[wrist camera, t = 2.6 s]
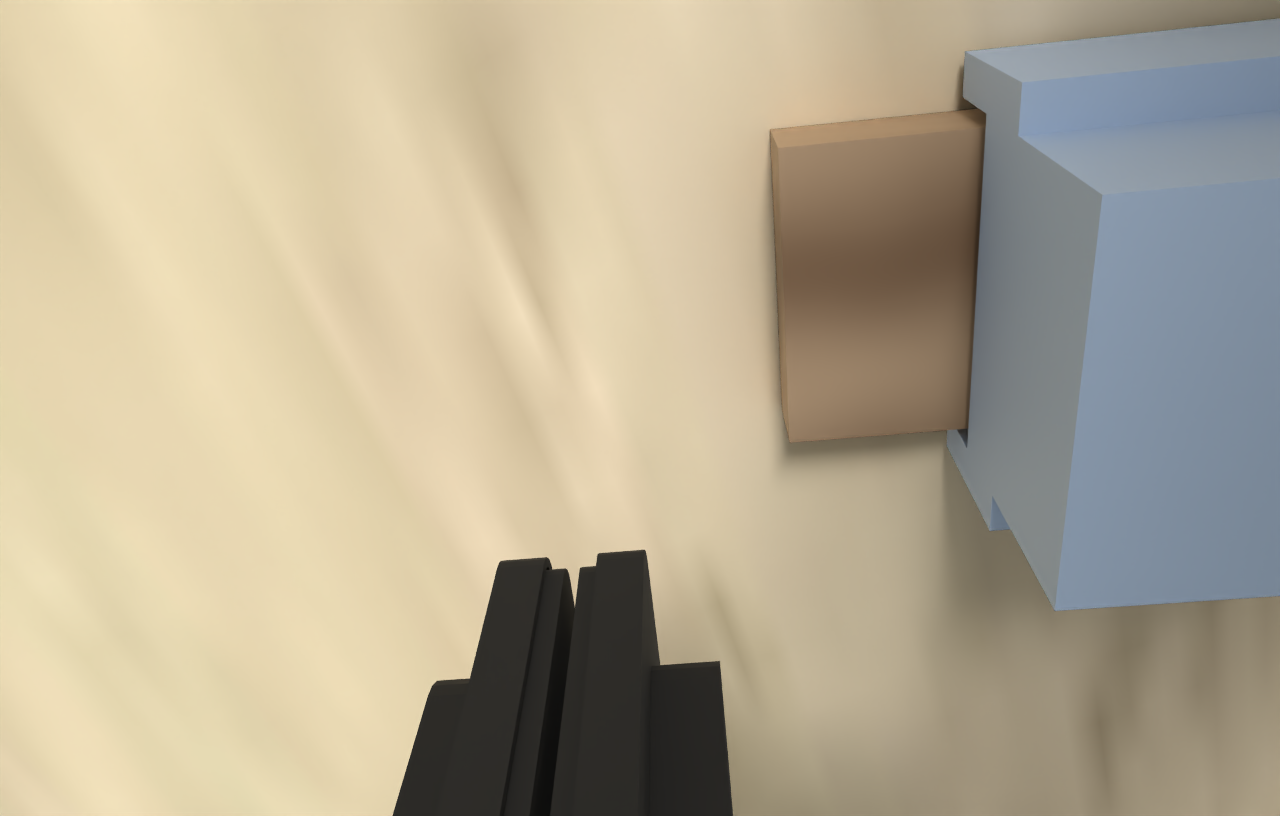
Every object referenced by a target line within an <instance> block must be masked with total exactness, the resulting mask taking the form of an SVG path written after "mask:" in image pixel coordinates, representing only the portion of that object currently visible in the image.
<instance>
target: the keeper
mask: <svg viewBox="0 0 1280 816" xmlns="http://www.w3.org/2000/svg"><path fill="white" fill-rule="evenodd" d="M963 98H965V99H966V100H967V101H969V102H970V103H972V104H973V105H975V106H976V107H977V108H979V109H980V110H982V111H983V112H985V113H986V130H985V148H984V165H983V183H982V200H981V218H980V235H979V252H978V270H977V287H976V305H975V322H974V340H973V357H972V374H971V392H970V409H969V427H968V429H956V430H947V448H948V450H949V452H950V454H951V456H952V458H953V460H954V462H955V464H956V466H957V468H958V470H959V471H960V473H961V475H962V477H963V479H964V481H965V483H966V485H967V487H968V489H969V491H970V493H971V495H972V497H973V499H974V501H975V503H976V505H977V507H978V509H979V511H980V513H981V515H982V517H983V519H984V521H985V523H986V525H987V527H988V529H989V531H995V530H1009V529H1011V531H1012V533H1013V535H1014V537H1015V539H1016V540H1017V542H1018V544H1019V546H1020V548H1021V550H1022V552H1023V553H1024V555H1025V557H1026V559H1027V561H1028V563H1029V564H1030V566H1031V568H1032V570H1033V572H1034V574H1035V576H1036V577H1037V579H1038V581H1039V583H1040V585H1041V587H1042V589H1043V590H1044V592H1045V594H1046V596H1047V598H1048V600H1049V602H1050V603H1051V605H1052V607H1053V609H1054V611H1060V610H1075V609H1091V608H1106V607H1121V606H1136V605H1151V604H1166V603H1181V602H1196V601H1211V600H1226V599H1241V598H1256V597H1272V596H1280V19H1270V20H1260V21H1251V22H1241V23H1232V24H1222V25H1213V26H1203V27H1194V28H1184V29H1175V30H1165V31H1155V32H1146V33H1136V34H1127V35H1117V36H1108V37H1098V38H1089V39H1079V40H1070V41H1060V42H1050V43H1041V44H1031V45H1022V46H1012V47H1003V48H993V49H984V50H974V51H965V59H964V81H963Z"/></svg>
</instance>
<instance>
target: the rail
mask: <svg viewBox="0 0 1280 816" xmlns="http://www.w3.org/2000/svg"><path fill="white" fill-rule="evenodd" d="M985 130H986V113H985V112H983V111H982V110H980V109H970V110H960V111H950V112H940V113H930V114H920V115H910V116H900V117H891V118H881V119H871V120H861V121H851V122H841V123H831V124H821V125H811V126H801V127H791V128H781V129H771V130H770V140H771V163H772V187H773V210H774V234H775V257H776V281H777V304H778V328H779V351H780V375H781V398H782V411H783V415H784V420H785V424H786V429H787V433H788V437H789V442H790V443H792V442H804V441H817V440H830V439H842V438H855V437H867V436H880V435H893V434H905V433H918V432H931V431H943V430H956V429H968V427H969V409H970V392H971V374H972V357H973V340H974V322H975V305H976V287H977V270H978V252H979V235H980V218H981V200H982V183H983V165H984V148H985Z"/></svg>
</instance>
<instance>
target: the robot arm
mask: <svg viewBox="0 0 1280 816" xmlns="http://www.w3.org/2000/svg"><path fill="white" fill-rule="evenodd" d="M393 816H733V811H732V799H731V787H730V775H729V763H728V751H727V739H726V727H725V716H724V704H723V693H722V682H721V670H720V661H715V662H701V663H687V664H672V665H660V660H659V651H658V643H657V635H656V627H655V619H654V610H653V602H652V594H651V586H650V578H649V569H648V562H647V555H646V551H645V550H636V551H623V552H610V553H599V554H598V556H597V563H596V566H593V567H581V568H580V572H579V580H578V588H577V596H576V604H575V606H574V600H573V594H572V588H571V582H570V577H569V573H568V570H567V569H554V570H552V566H551V563H550V560H549V559H548V558H547V557H545V558H532V559H519V560H506V561H501V562H499V565H498V568H497V571H496V575H495V579H494V583H493V588H492V592H491V596H490V600H489V604H488V608H487V612H486V616H485V620H484V624H483V628H482V632H481V636H480V640H479V644H478V648H477V652H476V656H475V660H474V664H473V668H472V672H471V676H470V679H457V680H442V681H437V682H436V683H435V684H434V685H433V686H432V688H431V690H430V693H429V695H428V698H427V701H426V705H425V708H424V711H423V715H422V718H421V722H420V725H419V728H418V732H417V735H416V738H415V742H414V745H413V749H412V752H411V755H410V759H409V762H408V765H407V769H406V772H405V776H404V779H403V782H402V786H401V789H400V793H399V796H398V799H397V803H396V806H395V809H394V813H393Z"/></svg>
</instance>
